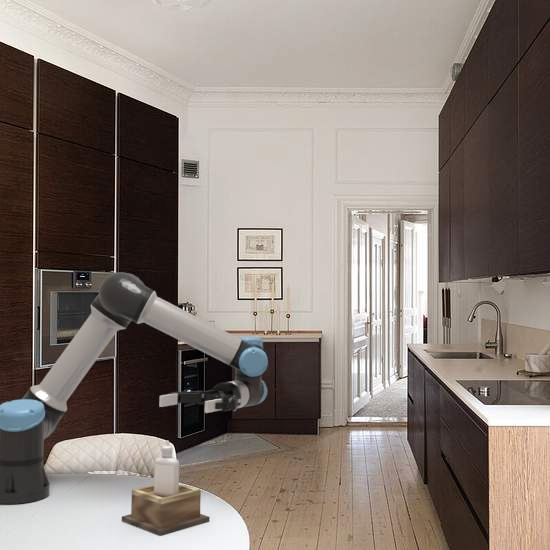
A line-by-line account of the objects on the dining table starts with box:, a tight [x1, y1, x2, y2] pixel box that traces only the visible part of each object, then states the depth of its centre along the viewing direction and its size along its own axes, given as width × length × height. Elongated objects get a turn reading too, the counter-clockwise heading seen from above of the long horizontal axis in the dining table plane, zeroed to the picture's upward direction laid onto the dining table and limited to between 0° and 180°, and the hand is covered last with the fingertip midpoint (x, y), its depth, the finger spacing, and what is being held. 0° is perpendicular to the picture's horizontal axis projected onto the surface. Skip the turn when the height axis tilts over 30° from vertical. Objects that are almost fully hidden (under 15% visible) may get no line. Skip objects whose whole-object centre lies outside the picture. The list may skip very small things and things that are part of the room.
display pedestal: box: [121, 483, 210, 537], centre depth 157 cm, size 14×14×7 cm
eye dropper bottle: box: [153, 440, 180, 496], centre depth 158 cm, size 4×6×12 cm
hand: (182, 404), depth 169 cm, fingers open, 13 cm apart
